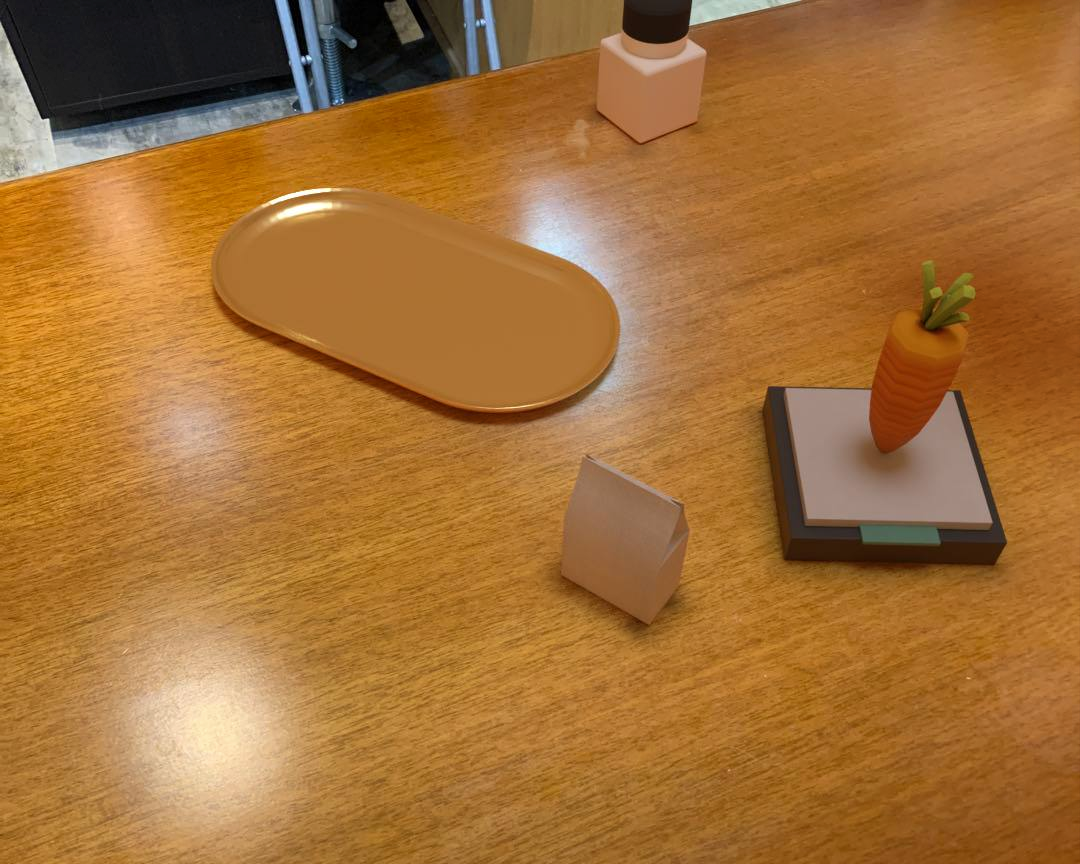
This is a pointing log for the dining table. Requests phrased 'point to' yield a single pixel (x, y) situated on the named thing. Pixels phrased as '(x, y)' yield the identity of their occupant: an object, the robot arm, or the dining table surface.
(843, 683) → the dining table surface
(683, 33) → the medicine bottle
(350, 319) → the serving platter
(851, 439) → the kitchen scale
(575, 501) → the brown paper bag
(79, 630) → the dining table surface
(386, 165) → the dining table surface
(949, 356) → the carrot
